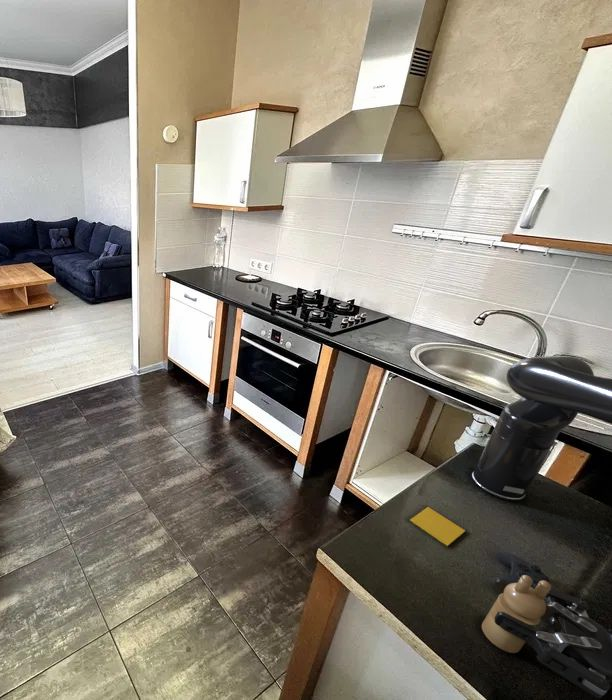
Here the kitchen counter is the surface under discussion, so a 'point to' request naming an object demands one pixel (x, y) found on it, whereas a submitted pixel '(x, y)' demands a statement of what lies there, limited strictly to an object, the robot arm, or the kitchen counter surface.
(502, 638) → the toy rabbit
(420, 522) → the flat yellow rectangular block
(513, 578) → the game controller
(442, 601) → the kitchen counter surface
